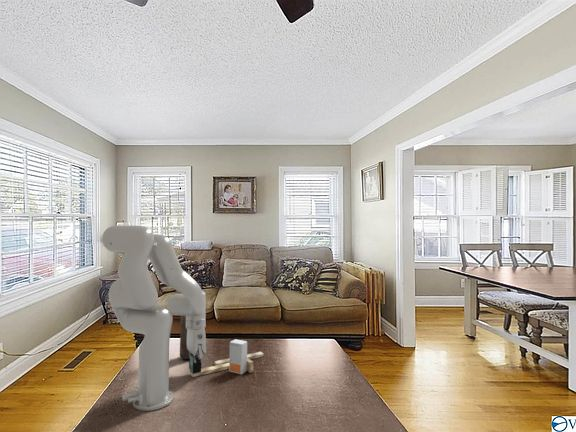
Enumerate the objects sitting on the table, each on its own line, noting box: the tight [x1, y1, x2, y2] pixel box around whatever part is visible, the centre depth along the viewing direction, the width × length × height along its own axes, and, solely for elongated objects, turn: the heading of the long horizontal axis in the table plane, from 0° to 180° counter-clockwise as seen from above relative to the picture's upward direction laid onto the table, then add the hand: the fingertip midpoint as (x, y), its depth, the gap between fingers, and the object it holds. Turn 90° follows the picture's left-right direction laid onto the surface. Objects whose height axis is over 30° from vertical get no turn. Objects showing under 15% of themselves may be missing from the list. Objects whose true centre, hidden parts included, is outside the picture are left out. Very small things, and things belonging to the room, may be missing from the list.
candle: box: [179, 315, 190, 360], centre depth 161 cm, size 8×7×20 cm
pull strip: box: [189, 355, 254, 378], centre depth 145 cm, size 22×11×7 cm, turn 123°
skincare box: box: [228, 338, 248, 375], centre depth 147 cm, size 6×4×12 cm
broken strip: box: [214, 351, 265, 366], centre depth 159 cm, size 22×3×1 cm, turn 123°
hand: (195, 369), depth 143 cm, fingers closed on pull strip, 3 cm apart
